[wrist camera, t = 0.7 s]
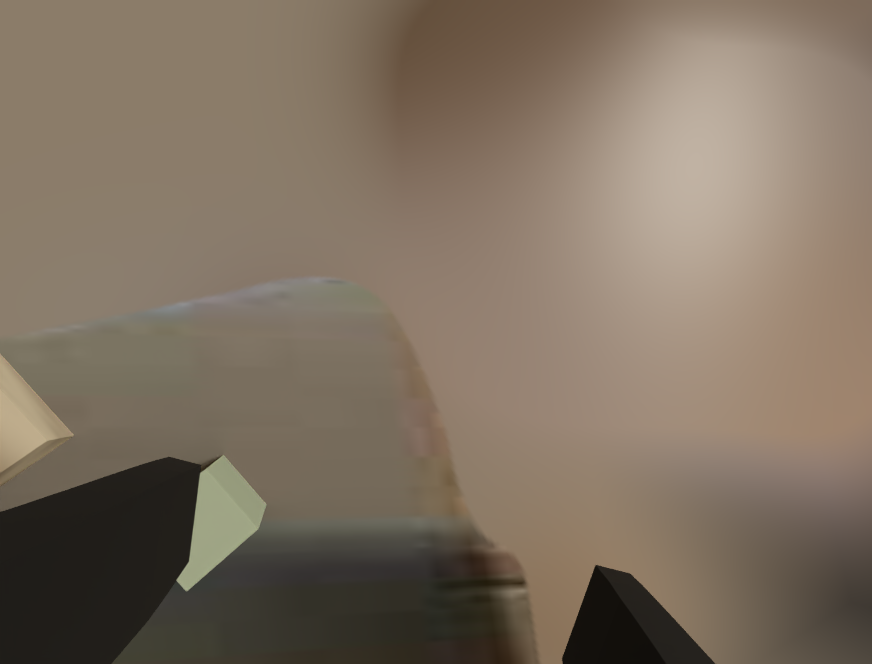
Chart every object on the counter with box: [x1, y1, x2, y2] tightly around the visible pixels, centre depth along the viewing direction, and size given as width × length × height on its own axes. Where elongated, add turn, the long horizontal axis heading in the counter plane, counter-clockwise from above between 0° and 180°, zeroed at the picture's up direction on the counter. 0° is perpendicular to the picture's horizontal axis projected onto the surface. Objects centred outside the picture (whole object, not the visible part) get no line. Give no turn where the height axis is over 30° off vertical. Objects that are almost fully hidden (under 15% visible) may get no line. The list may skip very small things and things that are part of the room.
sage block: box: [177, 455, 266, 591], centre depth 24 cm, size 4×4×5 cm
